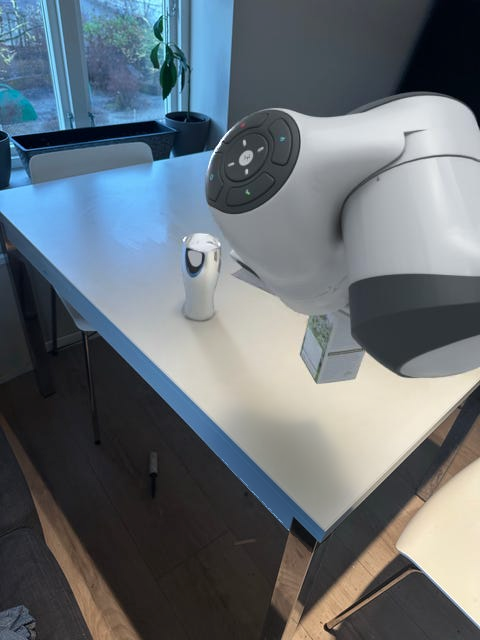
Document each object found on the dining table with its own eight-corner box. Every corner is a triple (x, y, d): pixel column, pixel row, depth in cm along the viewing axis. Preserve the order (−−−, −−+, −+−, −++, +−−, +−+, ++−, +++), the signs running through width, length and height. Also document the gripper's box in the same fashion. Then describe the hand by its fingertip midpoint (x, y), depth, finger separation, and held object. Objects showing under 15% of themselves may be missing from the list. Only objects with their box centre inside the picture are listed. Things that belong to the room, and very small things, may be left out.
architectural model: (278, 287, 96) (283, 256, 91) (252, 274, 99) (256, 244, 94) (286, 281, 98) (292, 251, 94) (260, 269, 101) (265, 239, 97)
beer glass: (194, 327, 82) (198, 255, 73) (173, 308, 86) (174, 238, 77) (224, 314, 86) (231, 245, 77) (202, 297, 90) (206, 229, 81)
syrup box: (357, 380, 56) (394, 281, 47) (314, 386, 54) (344, 285, 45) (336, 350, 60) (367, 255, 51) (296, 354, 58) (321, 257, 50)
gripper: (442, 285, 35) (443, 333, 47) (251, 198, 46) (292, 255, 58) (398, 351, 35) (411, 382, 47) (217, 249, 45) (265, 296, 57)
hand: (344, 312), depth 52 cm, fingers closed on syrup box, 7 cm apart
